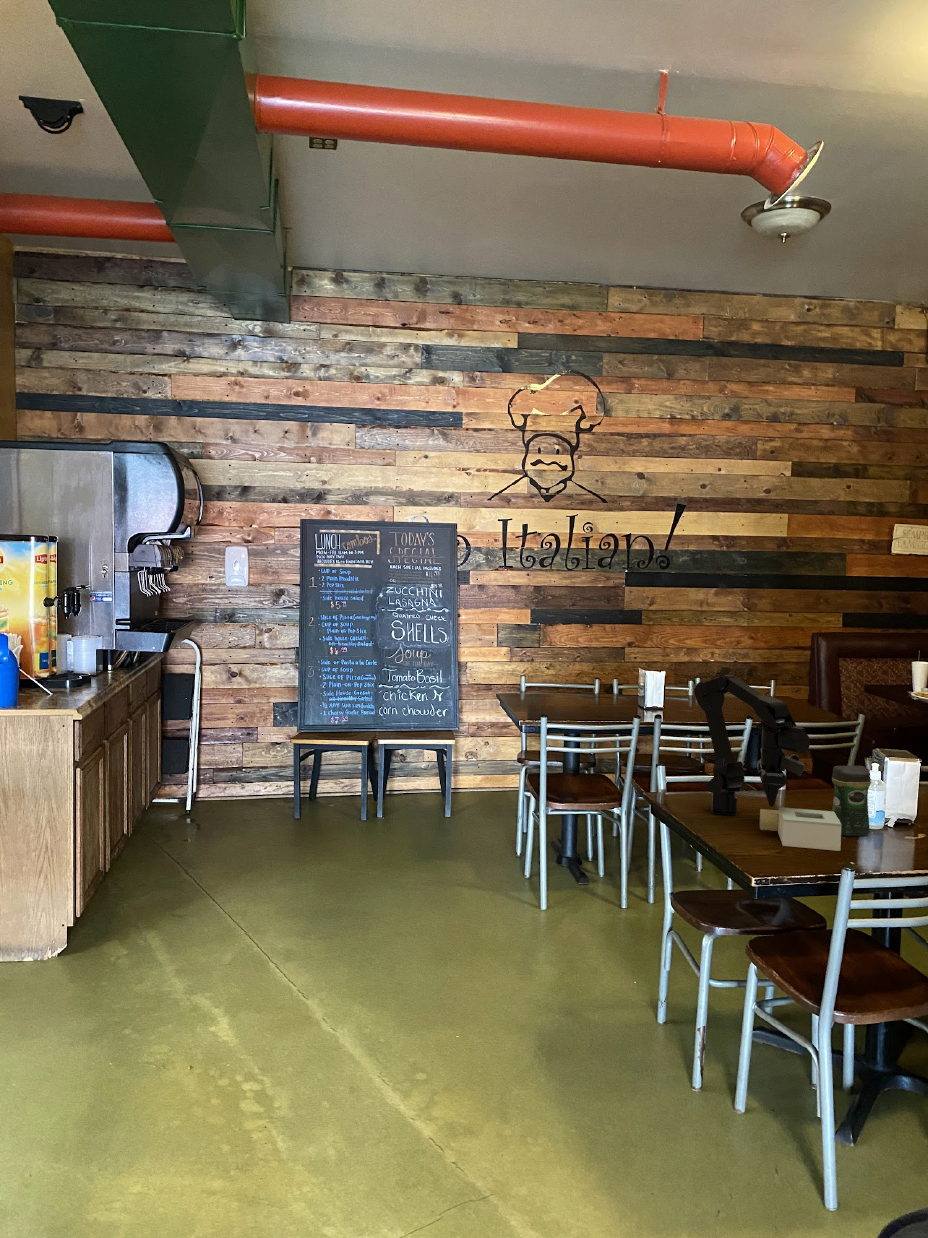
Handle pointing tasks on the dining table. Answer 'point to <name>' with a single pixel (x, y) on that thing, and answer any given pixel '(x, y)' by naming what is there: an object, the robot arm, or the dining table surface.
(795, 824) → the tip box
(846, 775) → the coffee jar
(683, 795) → the dining table surface
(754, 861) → the dining table surface
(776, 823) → the tan wooden block
